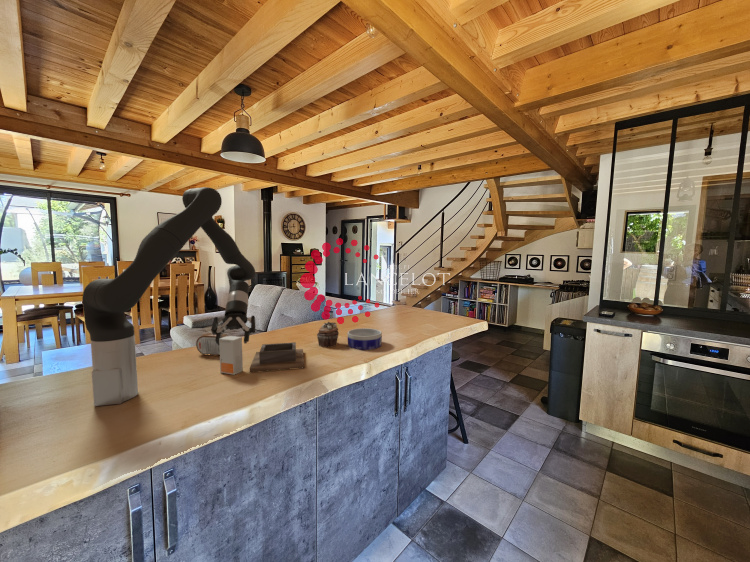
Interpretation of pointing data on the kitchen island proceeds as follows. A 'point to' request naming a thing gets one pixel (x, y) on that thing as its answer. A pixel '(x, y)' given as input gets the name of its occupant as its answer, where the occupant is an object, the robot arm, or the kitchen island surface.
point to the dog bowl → (364, 338)
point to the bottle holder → (277, 357)
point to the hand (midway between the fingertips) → (232, 343)
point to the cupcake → (328, 335)
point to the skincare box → (231, 355)
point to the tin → (208, 344)
